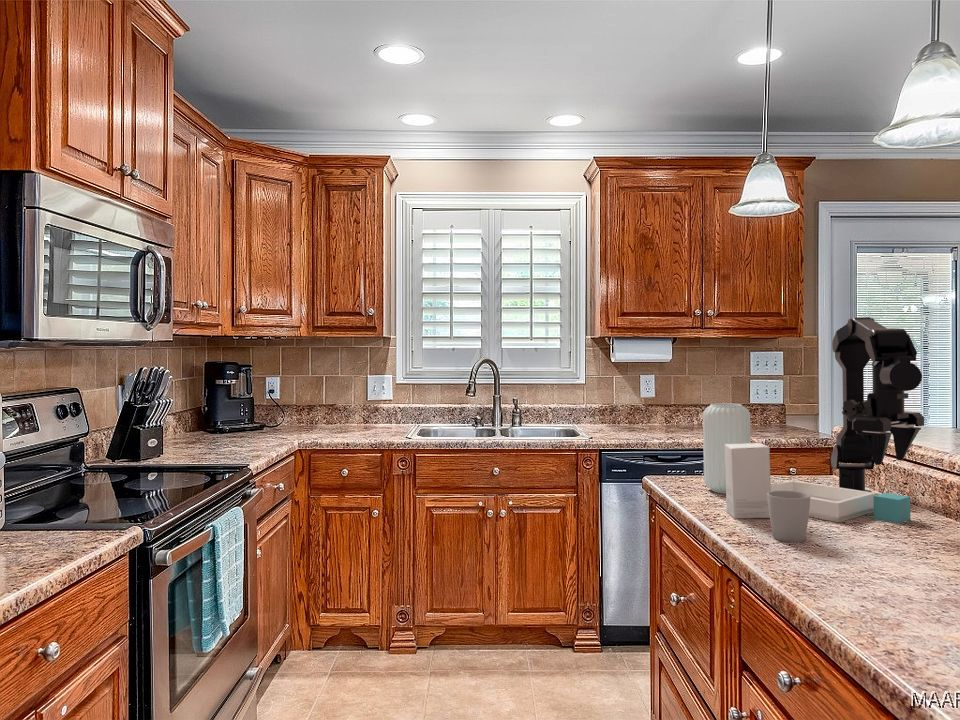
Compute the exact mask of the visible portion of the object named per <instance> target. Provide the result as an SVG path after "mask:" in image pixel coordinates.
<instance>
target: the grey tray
mask: <svg viewBox="0 0 960 720" xmlns="http://www.w3.org/2000/svg"><path fill="white" fill-rule="evenodd" d="M771 491H796V492H802V493H806V494H809V495H810V507H809V517H808V518H813V517H814V518H815V519H818V518H819V519H820V520H825V521H830V522H835V523H840V522H841V523H842V522H844V521H848V520H851V519H854V518H858V517H861V516H864V515H868V514H871V513H874V501H873V496H875V495H877V492H873V491H872V492H866V491H859V490H853V489H846V488H840V487H839V486H831V485H826V484H819V483H811V482H806V481H800V480H799V481H798V480H794V479H793V480H791V479H790V480H787V481H781V482H777V483H772V484H771ZM819 519H818V520H819Z"/></svg>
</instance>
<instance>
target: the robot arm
mask: <svg viewBox="0 0 960 720" xmlns="http://www.w3.org/2000/svg"><path fill="white" fill-rule="evenodd" d="M831 343H832V345H831V347H832V351H833V353H834V358H835V361H836V362H837V364H838V365H839V366H840V368H841V370H842V407H841V408H842V411H841V414H842V416H843V417H842V421H843V423H842V428H841V430H840V431H839V433H838V434H837V436H836V439H835V445H834V446H833V449H832V451H831V452H832V453H831V455H830V465H831V467H832V468H833V469H836V470H838V487H840V488H846V489H853V490H859V491H866V492H872V493H873V491H872V490H871V489H870V490H869V489H866V470H870V471H874V467H875V465H876V466H881V465H882V464H883V461H884V458H885V456H886V452H887V449H888V446H889V443H890V441H891V437H893V443H894V445H893V446H894V450H895V451H894V453H895V457H896V460H897V461H903V460H905V457H906V456H907V453H908V451H909V449H911V448H910V447H911V446H912V444H913V442H914V440H915V439H916V437H917V436H918V433H919V432H920V431H921V430H922V427H924V426H925V416H924V415H923V414H922V413H920V412H915V411H905V399H909V392H910V391H913V390H915V389H916V388H918V387H919V386H920V384H921V382H922V379H923V375H922V374H923V373H922V372H921V369H920V368H919V367H918V366H917V365H916V364H914V363H912V361H913V362H914V361H915V362H916V361H917V354H918V351H917V349H916V347H915V344H914V343H913V340H912V339H911V336H910V334H909V333H907V331H906V329H904V328H895V327H893V328H888V327H885V326H884V325H883V324H881V323H879V322H877V321H875V319H874V317H871V316H870V317H869V316H866V317H865V316H864V317H863V316H862V317H861V316H860V317H858V316H857V317H851V318H848V320H847V322H846V324H845V325H843V326H842V327H840V328H838V329H837V330H836V331H835V334H834V336H833V339H832V342H831ZM869 361H871V367H872V369H871V370H872V371H871V372H872V375H871V376H872V392H868V394H867V396H866V399H867V400H865V394H864V393H865V389H864V388H865V385H864V382H865V380H864V377H865V376H864V369H865V367H866V366H867V365H868V364H869ZM908 391H909V392H908Z"/></svg>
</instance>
